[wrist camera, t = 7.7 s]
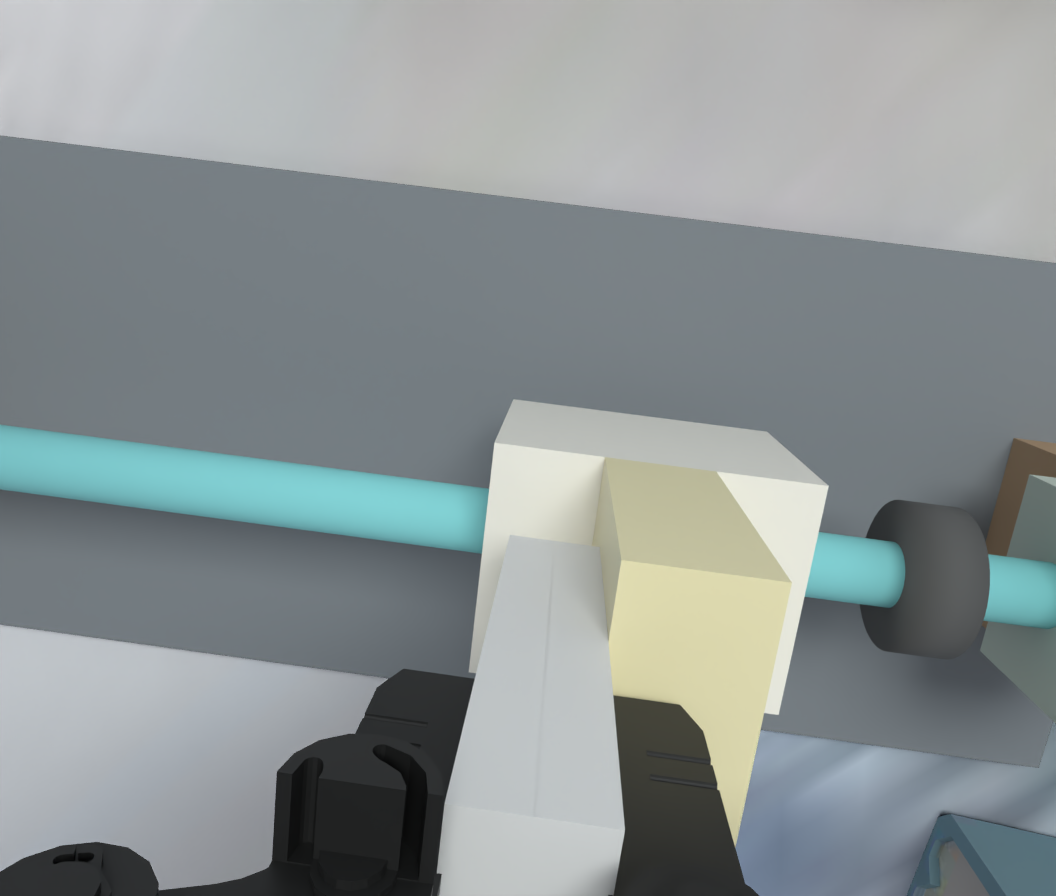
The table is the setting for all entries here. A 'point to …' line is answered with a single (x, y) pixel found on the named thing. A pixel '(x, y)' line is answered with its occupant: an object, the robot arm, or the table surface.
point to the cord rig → (480, 409)
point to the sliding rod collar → (669, 557)
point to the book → (985, 861)
